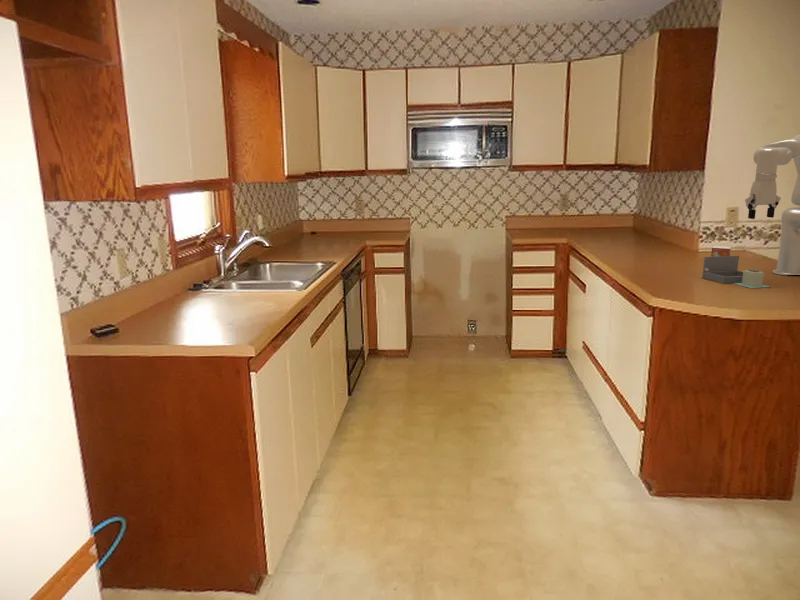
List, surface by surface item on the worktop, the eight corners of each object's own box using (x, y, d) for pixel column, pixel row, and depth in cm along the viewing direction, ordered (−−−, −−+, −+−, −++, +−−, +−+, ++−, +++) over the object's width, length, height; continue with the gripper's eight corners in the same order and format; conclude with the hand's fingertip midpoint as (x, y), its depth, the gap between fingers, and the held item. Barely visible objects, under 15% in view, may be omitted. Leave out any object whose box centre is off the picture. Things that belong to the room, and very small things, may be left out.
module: (751, 283, 265) (753, 268, 264) (762, 285, 259) (764, 271, 258) (741, 283, 264) (743, 269, 263) (752, 286, 258) (754, 271, 257)
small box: (708, 274, 288) (711, 247, 285) (709, 272, 294) (712, 245, 291) (727, 275, 284) (730, 248, 282) (727, 273, 290) (731, 246, 287)
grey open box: (734, 276, 283) (736, 255, 281) (758, 282, 269) (761, 260, 267) (700, 277, 280) (703, 256, 277) (723, 283, 266) (726, 261, 263)
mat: (752, 282, 267) (752, 282, 267) (770, 287, 258) (770, 286, 258) (733, 283, 265) (733, 283, 265) (750, 288, 256) (750, 287, 256)
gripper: (775, 176, 262) (770, 216, 266) (741, 178, 258) (737, 218, 262) (789, 177, 255) (784, 217, 259) (755, 179, 251) (750, 220, 255)
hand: (760, 218), depth 261 cm, fingers open, 9 cm apart
